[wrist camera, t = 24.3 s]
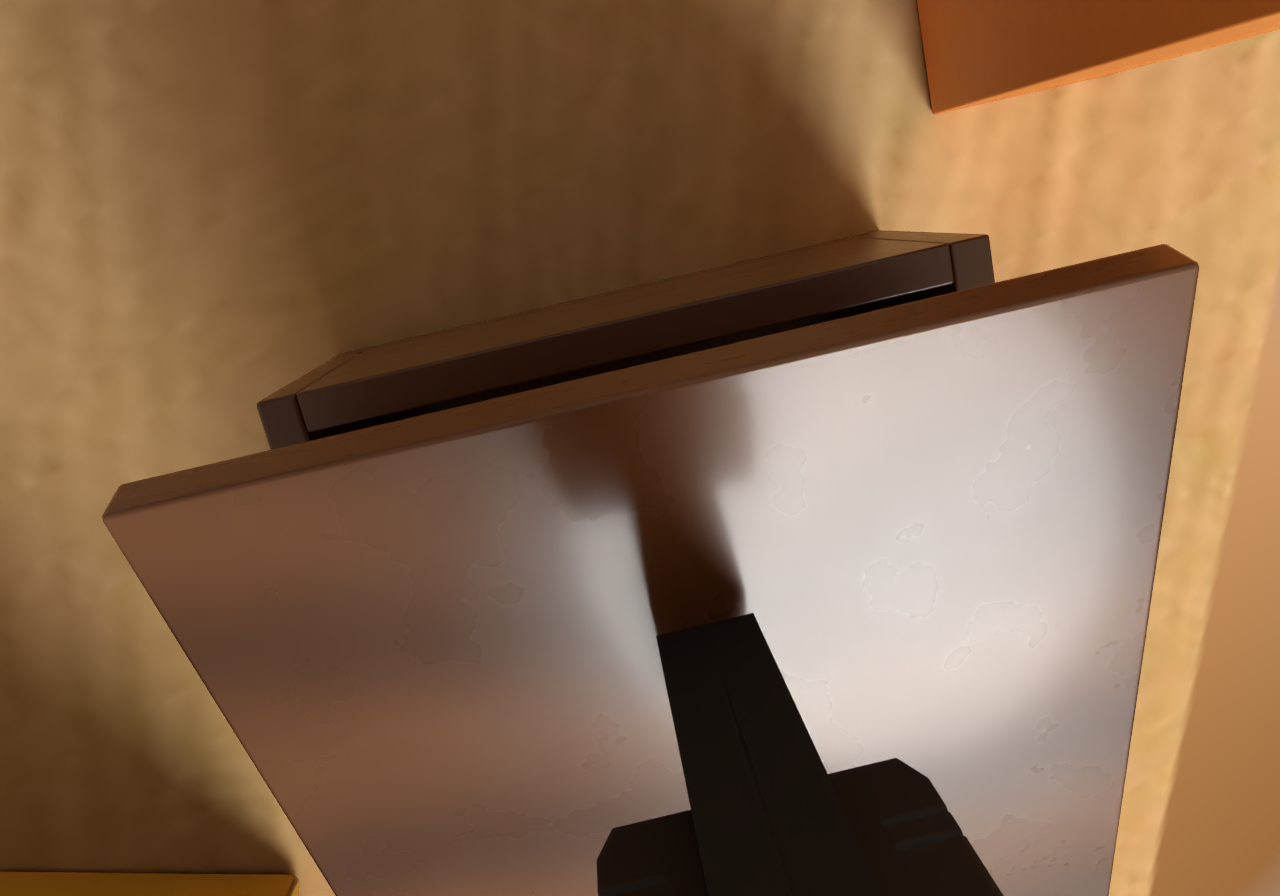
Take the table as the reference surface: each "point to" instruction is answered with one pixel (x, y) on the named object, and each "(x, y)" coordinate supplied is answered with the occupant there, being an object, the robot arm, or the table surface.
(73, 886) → the supplement box
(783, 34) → the table surface
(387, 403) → the chest
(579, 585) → the lid
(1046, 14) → the block
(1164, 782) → the table surface
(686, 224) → the table surface
